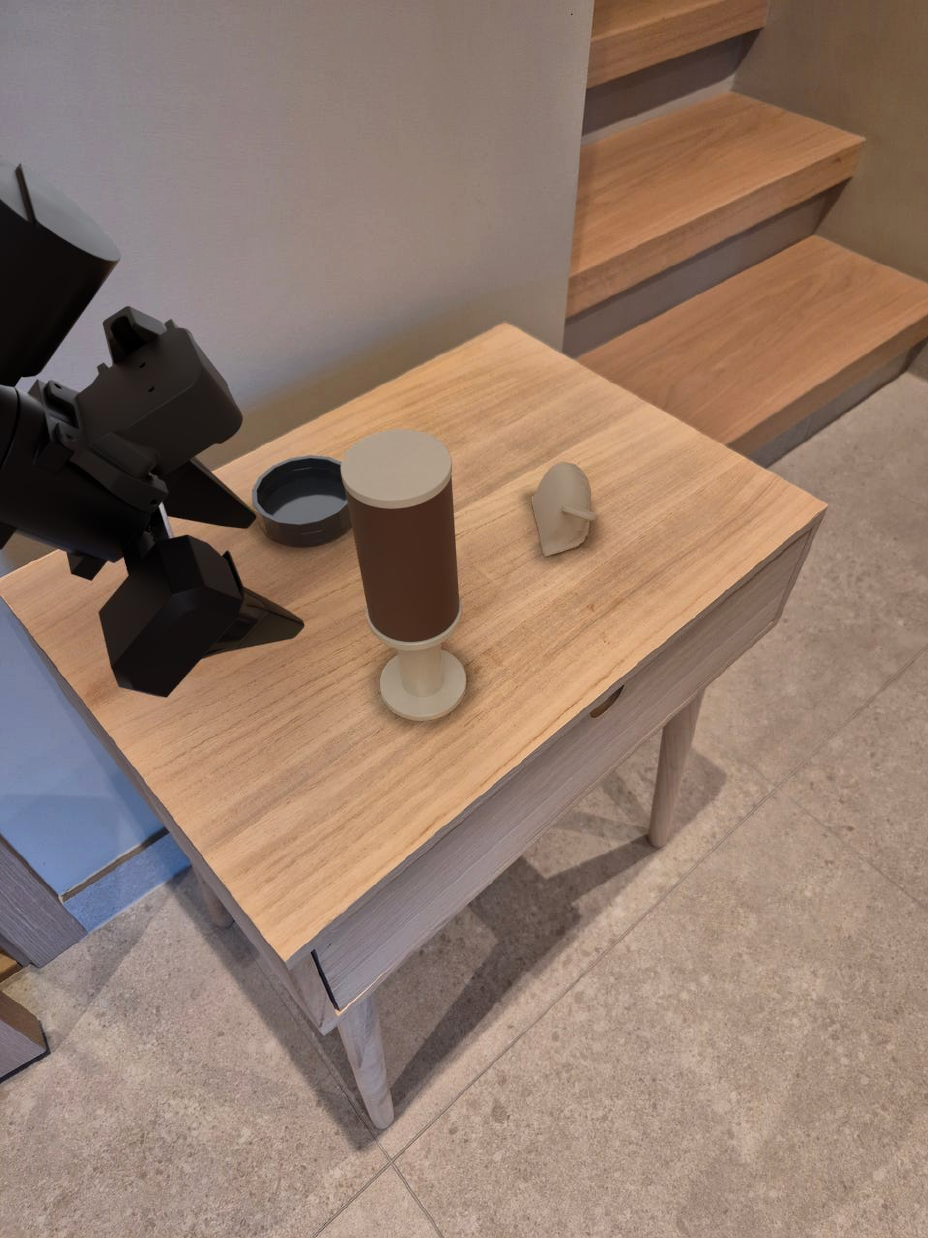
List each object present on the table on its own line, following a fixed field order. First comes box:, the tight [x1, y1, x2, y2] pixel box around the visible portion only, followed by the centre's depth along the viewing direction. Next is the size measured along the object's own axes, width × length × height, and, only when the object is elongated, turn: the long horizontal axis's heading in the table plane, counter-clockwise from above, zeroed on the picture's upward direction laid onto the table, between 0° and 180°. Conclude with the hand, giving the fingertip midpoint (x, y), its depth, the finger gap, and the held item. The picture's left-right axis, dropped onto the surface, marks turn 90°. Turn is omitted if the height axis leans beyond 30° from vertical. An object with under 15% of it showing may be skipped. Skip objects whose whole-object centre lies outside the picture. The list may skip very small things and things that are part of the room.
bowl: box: [251, 454, 352, 548], centre depth 68 cm, size 8×8×2 cm
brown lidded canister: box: [341, 428, 460, 642], centre depth 47 cm, size 6×6×11 cm
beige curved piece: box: [530, 461, 599, 558], centre depth 64 cm, size 4×8×5 cm, turn 4°
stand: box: [365, 594, 467, 722], centre depth 54 cm, size 6×6×8 cm
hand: (274, 572), depth 46 cm, fingers open, 9 cm apart
